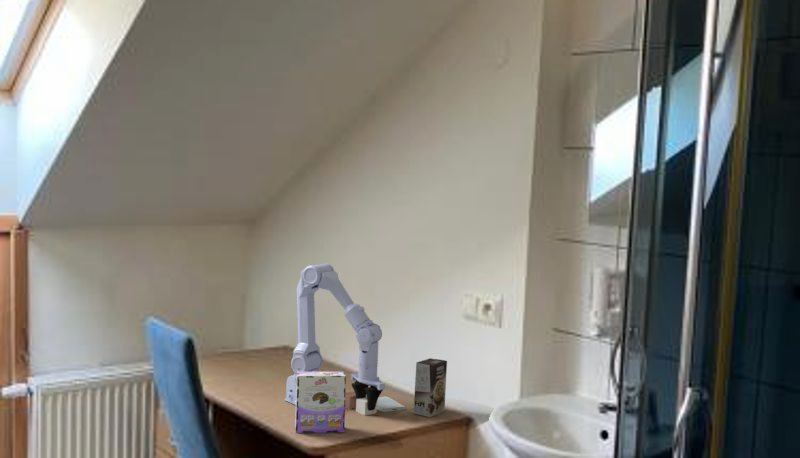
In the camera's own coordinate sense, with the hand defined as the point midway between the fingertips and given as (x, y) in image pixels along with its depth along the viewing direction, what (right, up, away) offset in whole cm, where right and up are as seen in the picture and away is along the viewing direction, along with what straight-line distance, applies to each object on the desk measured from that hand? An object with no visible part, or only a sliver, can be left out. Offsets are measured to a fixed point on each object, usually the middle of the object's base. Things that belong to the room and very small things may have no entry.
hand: (366, 407), depth 260 cm
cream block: (0, -1, 0) cm, 1 cm away
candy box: (-13, -2, -19) cm, 23 cm away
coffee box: (+19, -2, +3) cm, 20 cm away
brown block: (-5, -1, +6) cm, 8 cm away
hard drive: (+6, -2, +9) cm, 11 cm away
